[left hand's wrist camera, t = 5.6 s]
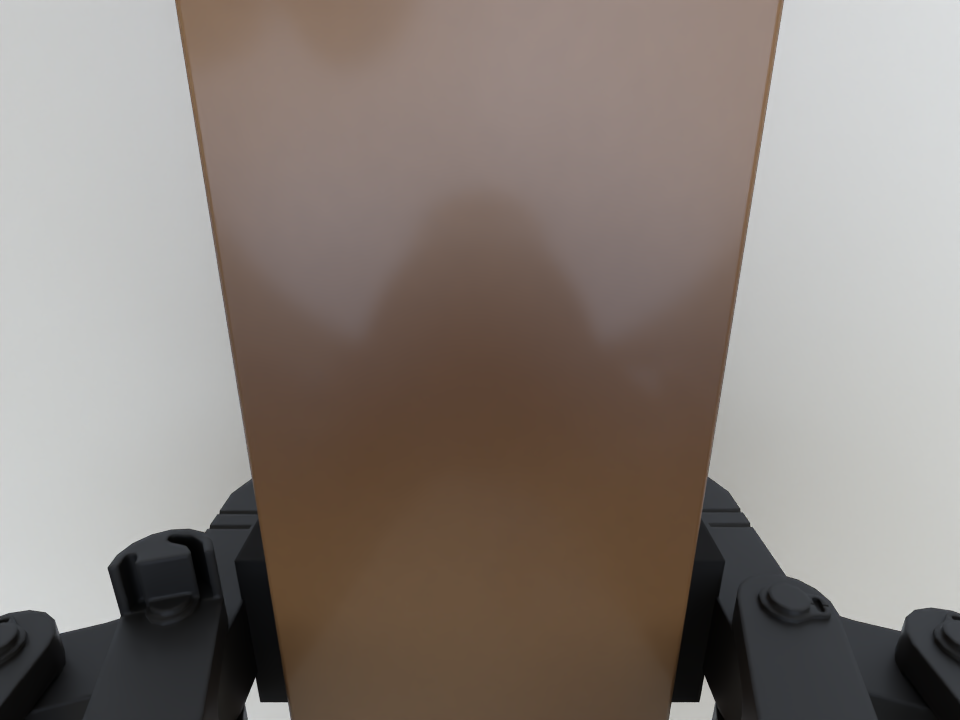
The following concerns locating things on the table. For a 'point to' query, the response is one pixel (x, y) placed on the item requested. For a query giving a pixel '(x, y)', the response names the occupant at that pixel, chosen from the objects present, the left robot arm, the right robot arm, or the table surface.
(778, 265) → the table surface
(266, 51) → the beam
